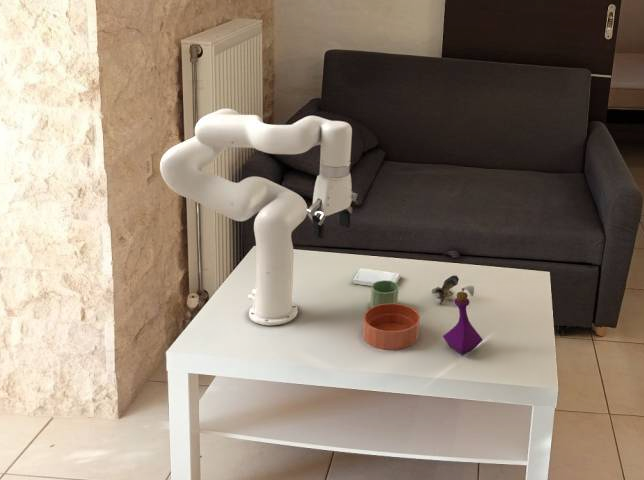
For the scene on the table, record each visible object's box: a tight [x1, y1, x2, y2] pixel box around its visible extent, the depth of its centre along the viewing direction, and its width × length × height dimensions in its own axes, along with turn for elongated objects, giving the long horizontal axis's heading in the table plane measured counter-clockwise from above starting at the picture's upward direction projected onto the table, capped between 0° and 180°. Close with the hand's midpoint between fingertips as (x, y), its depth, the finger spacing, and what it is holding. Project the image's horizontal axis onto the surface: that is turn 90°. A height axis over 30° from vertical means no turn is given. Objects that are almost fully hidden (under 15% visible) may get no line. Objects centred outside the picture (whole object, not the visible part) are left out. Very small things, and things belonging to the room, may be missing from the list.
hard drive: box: [352, 267, 401, 287], centre depth 221 cm, size 2×8×12 cm
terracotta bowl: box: [362, 303, 421, 351], centre depth 191 cm, size 15×15×6 cm
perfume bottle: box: [442, 285, 484, 356], centre depth 187 cm, size 8×8×18 cm
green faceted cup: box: [369, 280, 400, 308], centre depth 205 cm, size 8×8×6 cm
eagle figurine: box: [431, 275, 460, 306], centre depth 214 cm, size 8×7×9 cm
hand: (331, 231), depth 190 cm, fingers open, 9 cm apart
